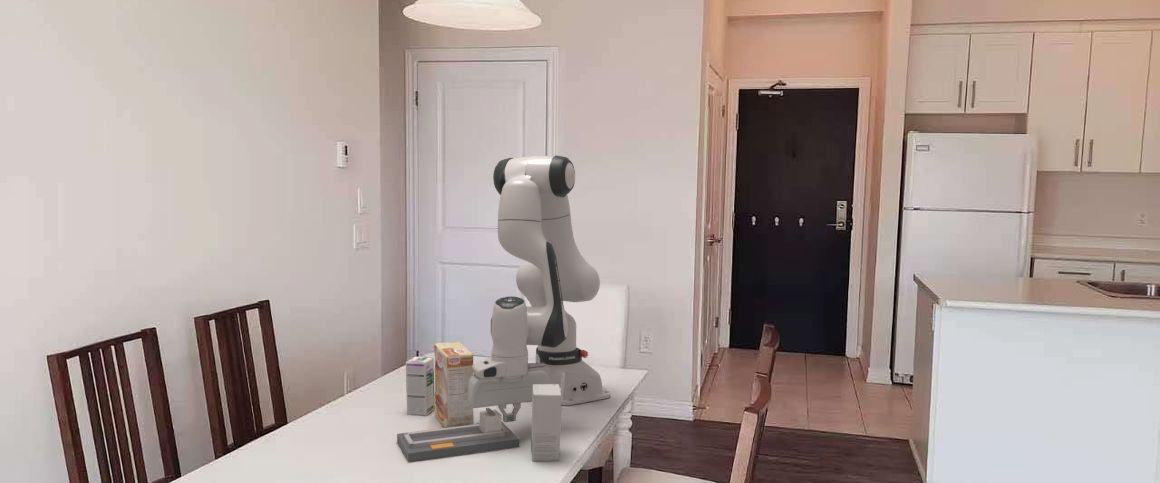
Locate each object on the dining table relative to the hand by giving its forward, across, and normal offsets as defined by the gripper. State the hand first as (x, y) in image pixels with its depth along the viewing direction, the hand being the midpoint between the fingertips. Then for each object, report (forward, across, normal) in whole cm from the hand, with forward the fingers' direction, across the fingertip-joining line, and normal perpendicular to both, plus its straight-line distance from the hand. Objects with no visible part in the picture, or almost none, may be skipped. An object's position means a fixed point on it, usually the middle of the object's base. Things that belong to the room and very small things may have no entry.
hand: (509, 421), depth 192 cm
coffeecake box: (+4, +10, -16) cm, 19 cm away
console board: (+4, +13, 0) cm, 13 cm away
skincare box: (+4, -4, +14) cm, 15 cm away
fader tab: (+2, +5, 0) cm, 5 cm away
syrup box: (+4, +16, -28) cm, 33 cm away
